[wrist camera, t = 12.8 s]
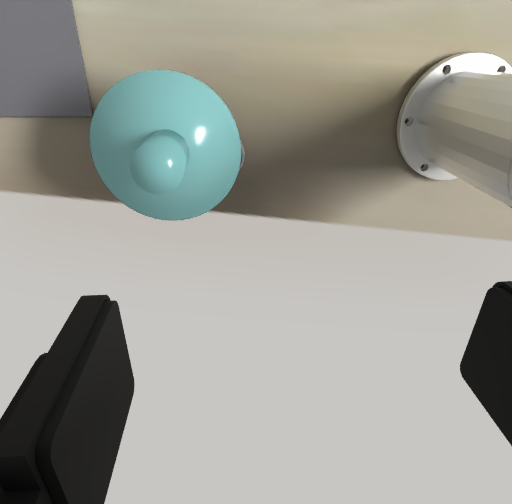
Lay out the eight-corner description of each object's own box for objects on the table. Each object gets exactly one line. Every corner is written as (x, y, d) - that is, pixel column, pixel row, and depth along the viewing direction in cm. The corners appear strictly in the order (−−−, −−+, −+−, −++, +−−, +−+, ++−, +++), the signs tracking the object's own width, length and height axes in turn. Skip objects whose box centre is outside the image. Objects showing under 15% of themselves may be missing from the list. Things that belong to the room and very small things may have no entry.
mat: (64, -37, 31) (62, -38, 30) (93, 115, 37) (92, 116, 36) (-90, -41, 30) (-93, -42, 30) (-35, 116, 36) (-38, 116, 35)
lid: (241, 71, 29) (244, 76, 23) (240, 215, 35) (242, 246, 29) (81, 66, 28) (45, 70, 22) (107, 215, 34) (83, 246, 28)
